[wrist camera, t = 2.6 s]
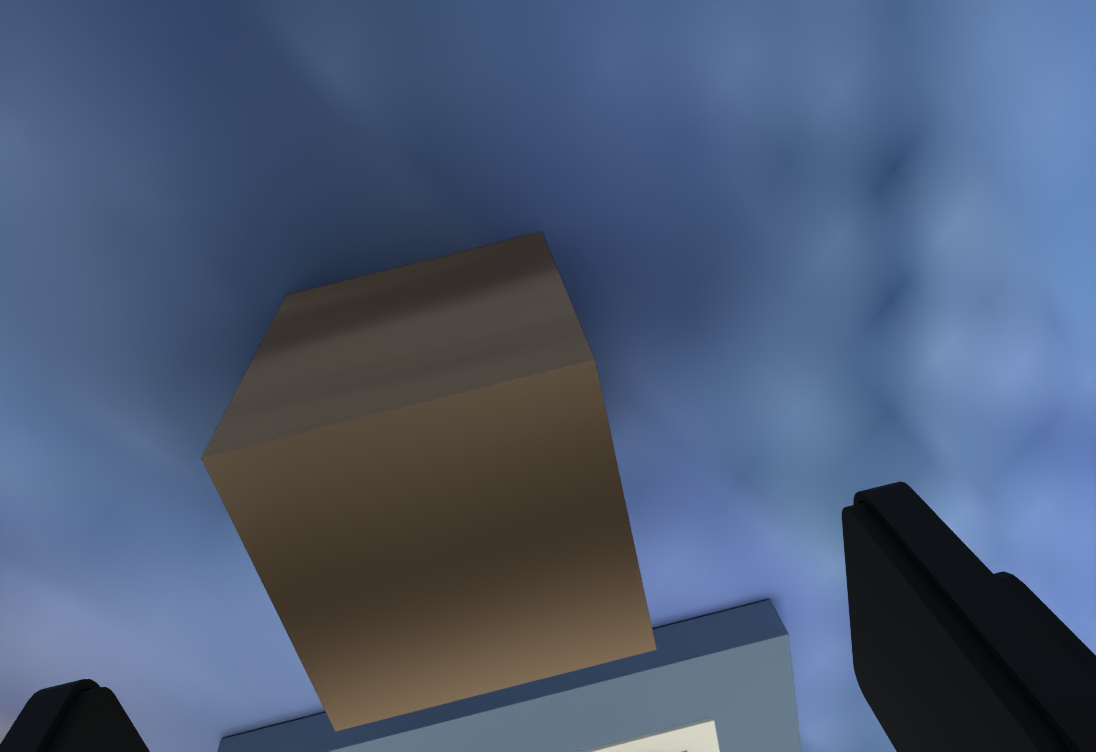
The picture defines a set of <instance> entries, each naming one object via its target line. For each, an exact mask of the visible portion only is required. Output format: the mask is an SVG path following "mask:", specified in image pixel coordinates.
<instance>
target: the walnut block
mask: <svg viewBox="0 0 1096 752" xmlns="http://www.w3.org/2000/svg"><path fill="white" fill-rule="evenodd" d="M201 459H202V461H203V463H204V465H205V467H206V469H207V471H208V473H209V475H210V477H211V479H212V481H213V483H214V485H215V487H216V489H217V491H218V493H219V495H220V497H221V499H222V501H223V503H224V505H225V507H226V510H227V512H228V514H229V516H230V518H231V520H232V522H233V524H234V526H235V528H236V530H237V532H238V534H239V536H240V538H241V540H242V542H243V544H244V546H245V548H246V550H247V552H248V554H249V556H250V558H251V560H252V562H253V564H254V567H255V569H256V571H257V573H258V575H259V577H260V579H261V581H262V583H263V585H264V587H265V589H266V591H267V593H268V595H269V597H270V599H271V601H272V603H273V605H274V607H275V609H276V611H277V613H278V615H279V617H280V619H281V622H282V624H283V626H284V628H285V630H286V632H287V634H288V636H289V638H290V640H291V642H292V644H293V646H294V648H295V650H296V652H297V654H298V656H299V658H300V660H301V662H302V664H303V666H304V668H305V670H306V672H307V674H308V677H309V679H310V681H311V683H312V685H313V687H314V689H315V691H316V693H317V695H318V697H319V699H320V701H321V703H322V705H323V707H324V709H325V711H326V713H327V715H328V717H329V719H330V721H331V723H332V725H333V727H334V729H335V732H336V731H340V730H343V729H347V728H351V727H355V726H359V725H363V724H367V723H371V722H375V721H379V720H383V719H387V718H391V717H394V716H398V715H402V714H406V713H410V712H414V711H418V710H422V709H426V708H430V707H434V706H438V705H442V704H446V703H449V702H453V701H457V700H461V699H465V698H469V697H473V696H477V695H481V694H485V693H489V692H493V691H497V690H500V689H504V688H508V687H512V686H516V685H520V684H524V683H528V682H532V681H536V680H540V679H544V678H548V677H552V676H555V675H559V674H563V673H567V672H571V671H575V670H579V669H583V668H587V667H591V666H595V665H599V664H603V663H606V662H610V661H614V660H618V659H622V658H626V657H630V656H634V655H638V654H642V653H646V652H650V651H654V650H657V649H656V645H655V640H654V635H653V630H652V626H651V621H650V616H649V612H648V607H647V602H646V598H645V593H644V588H643V583H642V579H641V574H640V569H639V565H638V560H637V555H636V550H635V546H634V541H633V536H632V532H631V527H630V522H629V518H628V513H627V508H626V503H625V499H624V494H623V489H622V485H621V480H620V475H619V470H618V466H617V461H616V456H615V452H614V447H613V442H612V438H611V433H610V428H609V423H608V419H607V414H606V409H605V405H604V400H603V395H602V390H601V386H600V381H599V376H598V372H597V367H596V362H595V358H594V356H593V354H592V351H591V349H590V346H589V344H588V342H587V339H586V337H585V334H584V332H583V330H582V327H581V325H580V322H579V320H578V317H577V315H576V313H575V310H574V308H573V305H572V303H571V301H570V298H569V296H568V293H567V291H566V289H565V286H564V284H563V281H562V279H561V277H560V274H559V272H558V269H557V267H556V265H555V262H554V260H553V257H552V255H551V252H550V250H549V248H548V245H547V243H546V240H545V238H544V236H543V233H542V232H538V233H534V234H530V235H526V236H522V237H518V238H514V239H510V240H506V241H502V242H498V243H494V244H490V245H485V246H481V247H477V248H473V249H469V250H465V251H461V252H457V253H453V254H449V255H445V256H441V257H437V258H433V259H429V260H425V261H421V262H417V263H413V264H409V265H405V266H401V267H397V268H393V269H389V270H385V271H381V272H377V273H373V274H369V275H365V276H361V277H357V278H353V279H349V280H345V281H341V282H337V283H333V284H328V285H324V286H320V287H316V288H312V289H308V290H304V291H300V292H296V293H292V294H288V295H286V296H285V298H284V300H283V302H282V304H281V306H280V308H279V310H278V312H277V314H276V316H275V317H274V319H273V321H272V323H271V325H270V327H269V329H268V331H267V333H266V335H265V337H264V339H263V340H262V342H261V344H260V346H259V348H258V350H257V352H256V354H255V356H254V358H253V360H252V362H251V363H250V365H249V367H248V369H247V371H246V373H245V375H244V377H243V379H242V381H241V383H240V385H239V386H238V388H237V390H236V392H235V394H234V396H233V398H232V400H231V402H230V404H229V406H228V407H227V409H226V411H225V413H224V415H223V417H222V419H221V421H220V423H219V425H218V427H217V429H216V430H215V432H214V434H213V436H212V438H211V440H210V442H209V444H208V446H207V448H206V450H205V452H204V453H203V455H202V457H201Z"/></svg>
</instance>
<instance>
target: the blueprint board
mask: <svg viewBox="0 0 1096 752" xmlns="http://www.w3.org/2000/svg"><path fill="white" fill-rule="evenodd" d="M652 630H653V635H654V640H655V645H656V649H657V650H654V651H650V652H646V653H642V654H638V655H634V656H630V657H626V658H622V659H618V660H614V661H610V662H606V663H603V664H599V665H595V666H591V667H587V668H583V669H579V670H575V671H571V672H567V673H563V674H559V675H555V676H552V677H548V678H544V679H540V680H536V681H532V682H528V683H524V684H520V685H516V686H512V687H508V688H504V689H500V690H497V691H493V692H489V693H485V694H481V695H477V696H473V697H469V698H465V699H461V700H457V701H453V702H449V703H446V704H442V705H438V706H434V707H430V708H426V709H422V710H418V711H414V712H410V713H406V714H402V715H398V716H394V717H391V718H387V719H383V720H379V721H375V722H371V723H367V724H363V725H359V726H355V727H351V728H347V729H343V730H340V731H336V732H335V729H334V727H333V725H332V723H331V721H330V719H329V717H328V715H327V713H322V714H318V715H314V716H310V717H307V718H303V719H299V720H295V721H291V722H287V723H283V724H279V725H275V726H271V727H267V728H263V729H259V730H255V731H252V732H248V733H244V734H240V735H236V736H232V737H228V738H224V739H221V741H220V745H219V748H218V751H217V752H801V744H800V735H799V726H798V717H797V708H796V698H795V689H794V680H793V671H792V662H791V653H790V643H789V634H788V632H787V630H786V629H785V627H784V625H783V623H782V621H781V619H780V617H779V616H778V614H777V612H776V610H775V608H774V606H773V605H772V603H771V601H770V600H766V601H762V602H758V603H754V604H750V605H746V606H743V607H739V608H735V609H731V610H727V611H723V612H719V613H715V614H711V615H707V616H703V617H699V618H695V619H691V620H688V621H684V622H680V623H676V624H672V625H668V626H664V627H660V628H656V629H652Z"/></svg>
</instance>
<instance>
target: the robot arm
mask: <svg viewBox="0 0 1096 752" xmlns="http://www.w3.org/2000/svg"><path fill="white" fill-rule="evenodd" d="M842 525H843V538H844V551H845V564H846V577H847V590H848V602H849V615H850V628H851V641H852V654H853V665H854V671H855V675H856V678H857V681H858V684H859V686H860V689H861V691H862V693H863V695H864V697H865V699H866V700H867V702H868V704H869V705H870V707H871V709H872V711H873V712H874V714H875V716H876V717H877V719H878V721H879V722H880V724H881V726H882V727H883V729H884V731H885V733H886V734H887V736H888V738H889V739H890V741H891V743H892V744H893V746H894V748H895V749H896V751H897V752H1096V655H1095V654H1094V653H1093V652H1092V651H1091V650H1090V649H1089V648H1088V647H1087V646H1086V645H1085V644H1084V643H1083V642H1082V641H1081V640H1080V639H1079V638H1078V637H1077V636H1076V635H1075V634H1074V633H1073V632H1072V631H1071V630H1070V629H1069V628H1068V627H1067V626H1066V625H1065V624H1064V623H1063V622H1062V621H1061V620H1060V619H1059V618H1058V617H1057V616H1056V615H1055V614H1054V613H1053V612H1052V611H1051V610H1050V609H1049V608H1048V607H1047V606H1046V605H1045V604H1044V603H1043V602H1042V601H1041V600H1040V599H1039V598H1038V597H1037V596H1036V595H1035V594H1034V593H1033V592H1032V591H1031V590H1030V589H1029V588H1028V587H1027V586H1026V585H1025V584H1024V583H1023V582H1022V581H1020V580H1019V579H1018V578H1017V577H1015V576H1014V575H1012V574H1009V573H1007V572H1004V571H1003V572H999V573H995V574H993V573H992V572H991V571H990V570H989V569H988V568H987V567H986V566H985V565H984V564H983V563H982V562H981V561H980V560H979V559H978V557H977V556H976V555H975V554H974V553H973V552H972V551H971V550H970V549H969V548H968V547H967V546H966V545H965V544H964V543H963V542H962V541H961V540H960V539H959V538H958V537H957V535H956V534H955V533H954V532H953V531H952V530H951V529H950V528H949V527H948V526H947V525H946V524H945V523H944V522H943V521H942V520H941V519H940V518H939V517H938V516H937V515H936V513H935V512H934V511H933V510H932V509H931V508H930V507H929V506H928V505H927V504H926V503H925V502H924V501H923V500H922V499H921V498H920V497H919V496H918V495H917V494H916V493H915V491H914V490H913V489H912V488H911V487H910V486H908V485H907V484H906V483H904V482H896V483H892V484H888V485H884V486H880V487H876V488H872V489H867V490H863V491H859V492H857V493H856V494H855V496H854V505H852V506H848V507H845V508H843V511H842ZM0 752H150V751H149V750H148V748H147V746H146V745H145V743H144V741H143V740H142V738H141V737H140V735H139V733H138V732H137V730H136V728H135V727H134V725H133V724H132V722H131V720H130V719H129V717H128V715H127V714H126V712H125V711H124V709H123V707H122V706H121V704H120V702H119V701H118V699H117V698H116V696H115V694H114V693H113V692H112V691H111V690H110V689H109V688H107V687H100V686H99V685H98V684H97V683H96V682H94V681H93V680H91V679H82V680H78V681H74V682H70V683H66V684H62V685H58V686H54V687H49V688H45V689H41V690H40V691H38V692H36V693H34V694H33V696H32V697H31V698H30V699H29V700H28V702H27V703H26V705H25V706H24V708H23V710H22V711H21V713H20V714H19V716H18V717H17V719H16V721H15V722H14V724H13V725H12V727H11V728H10V730H9V731H8V733H7V735H6V736H5V738H4V739H3V741H2V742H1V744H0Z"/></svg>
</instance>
